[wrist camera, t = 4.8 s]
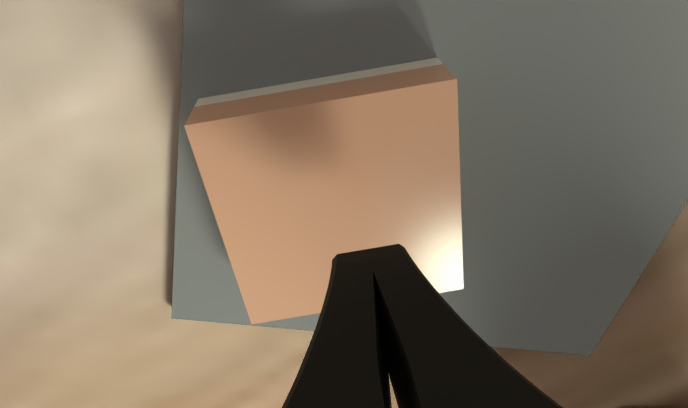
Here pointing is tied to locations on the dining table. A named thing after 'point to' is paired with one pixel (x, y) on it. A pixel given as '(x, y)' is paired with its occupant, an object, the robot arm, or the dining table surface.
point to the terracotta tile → (332, 179)
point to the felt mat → (480, 144)
